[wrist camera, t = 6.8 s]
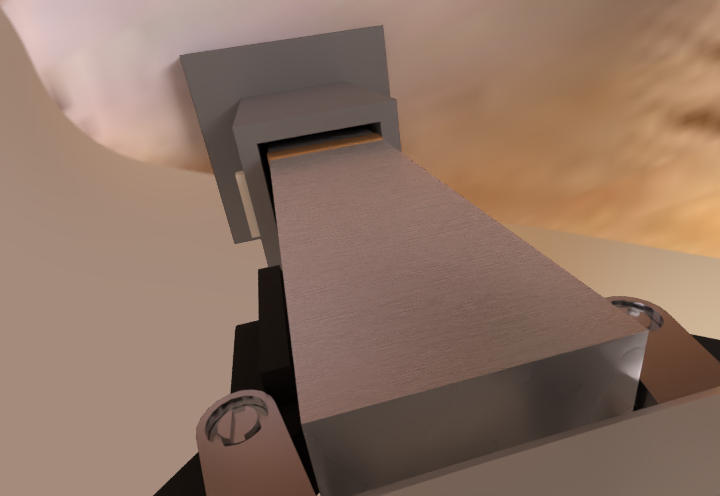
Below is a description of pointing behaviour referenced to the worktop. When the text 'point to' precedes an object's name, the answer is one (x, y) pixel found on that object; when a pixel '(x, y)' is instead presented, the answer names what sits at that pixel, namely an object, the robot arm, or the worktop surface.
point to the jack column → (428, 320)
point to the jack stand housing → (283, 111)
